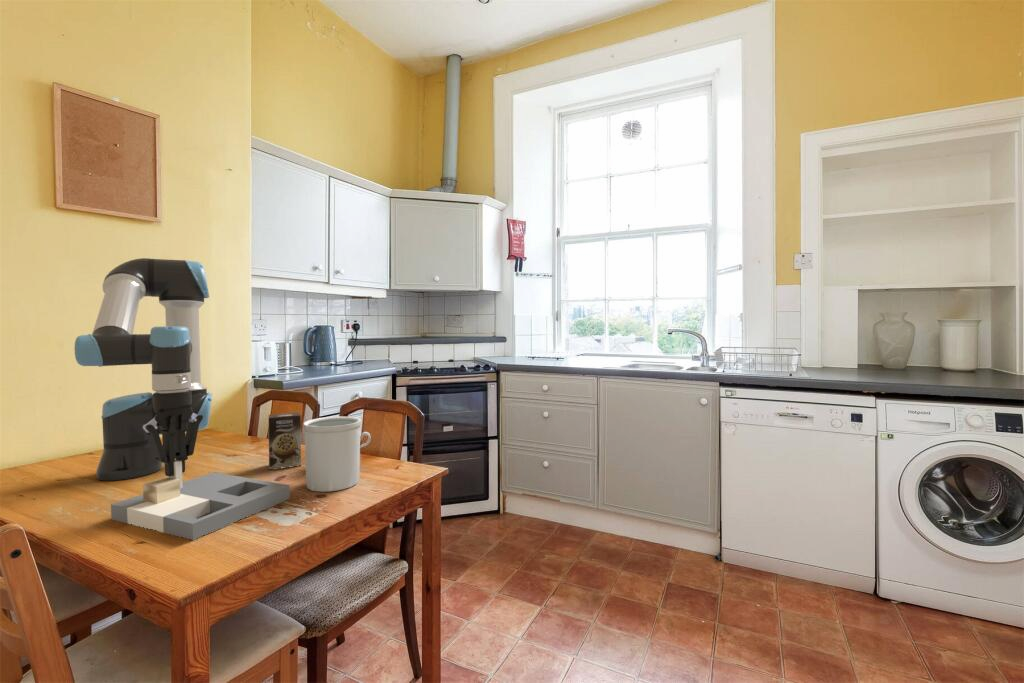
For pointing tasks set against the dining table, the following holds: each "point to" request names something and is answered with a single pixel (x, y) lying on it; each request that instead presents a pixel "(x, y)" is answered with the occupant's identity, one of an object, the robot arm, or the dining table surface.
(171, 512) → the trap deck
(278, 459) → the coffee box
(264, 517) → the dining table surface
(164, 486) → the birch block
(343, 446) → the utensil holder
